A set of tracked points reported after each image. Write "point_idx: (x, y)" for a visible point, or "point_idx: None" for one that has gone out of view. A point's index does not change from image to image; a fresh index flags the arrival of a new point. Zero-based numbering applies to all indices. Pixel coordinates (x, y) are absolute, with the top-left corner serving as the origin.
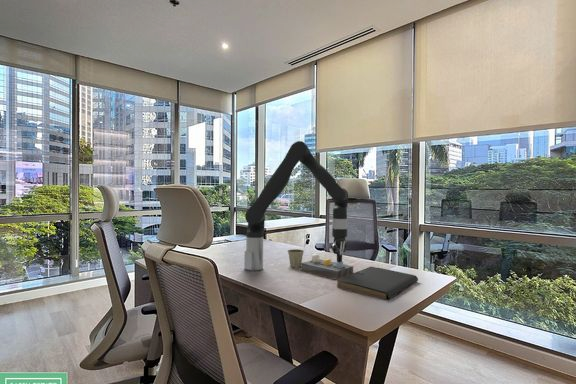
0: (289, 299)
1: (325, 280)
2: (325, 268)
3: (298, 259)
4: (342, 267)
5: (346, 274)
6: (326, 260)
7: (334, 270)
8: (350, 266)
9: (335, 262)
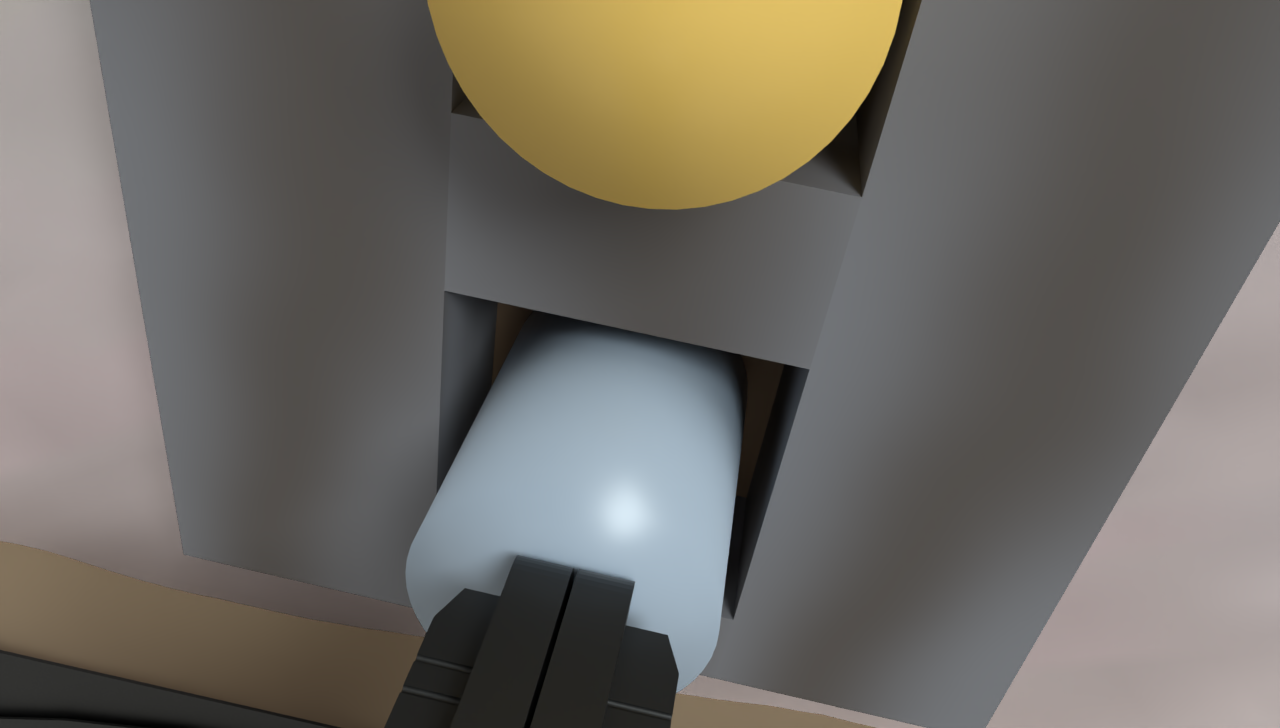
0: None
1: (16, 216)
2: (118, 162)
3: None
4: None
5: None
6: (454, 50)
7: (170, 465)
8: (901, 690)
9: (444, 499)
